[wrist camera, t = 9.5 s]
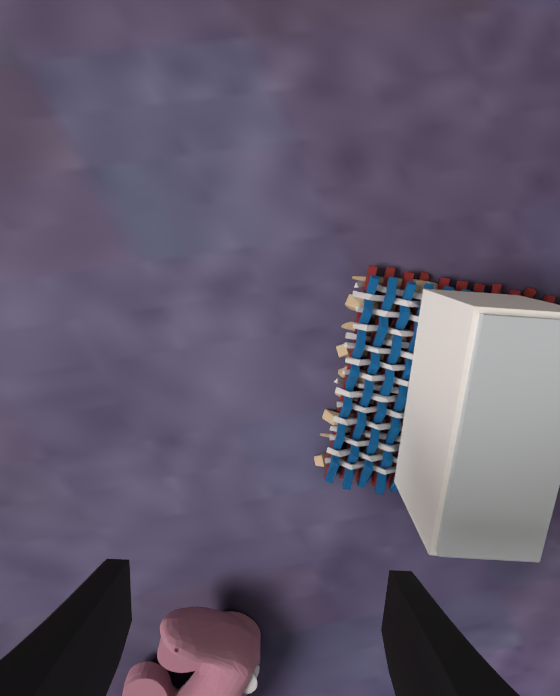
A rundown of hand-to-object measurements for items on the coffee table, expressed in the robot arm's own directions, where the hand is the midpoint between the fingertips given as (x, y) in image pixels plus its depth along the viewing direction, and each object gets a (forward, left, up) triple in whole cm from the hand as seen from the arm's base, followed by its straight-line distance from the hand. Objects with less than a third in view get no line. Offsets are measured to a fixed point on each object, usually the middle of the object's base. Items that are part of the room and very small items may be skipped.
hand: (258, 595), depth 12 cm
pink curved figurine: (-11, +7, -7) cm, 15 cm away
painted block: (+3, -8, -8) cm, 12 cm away
